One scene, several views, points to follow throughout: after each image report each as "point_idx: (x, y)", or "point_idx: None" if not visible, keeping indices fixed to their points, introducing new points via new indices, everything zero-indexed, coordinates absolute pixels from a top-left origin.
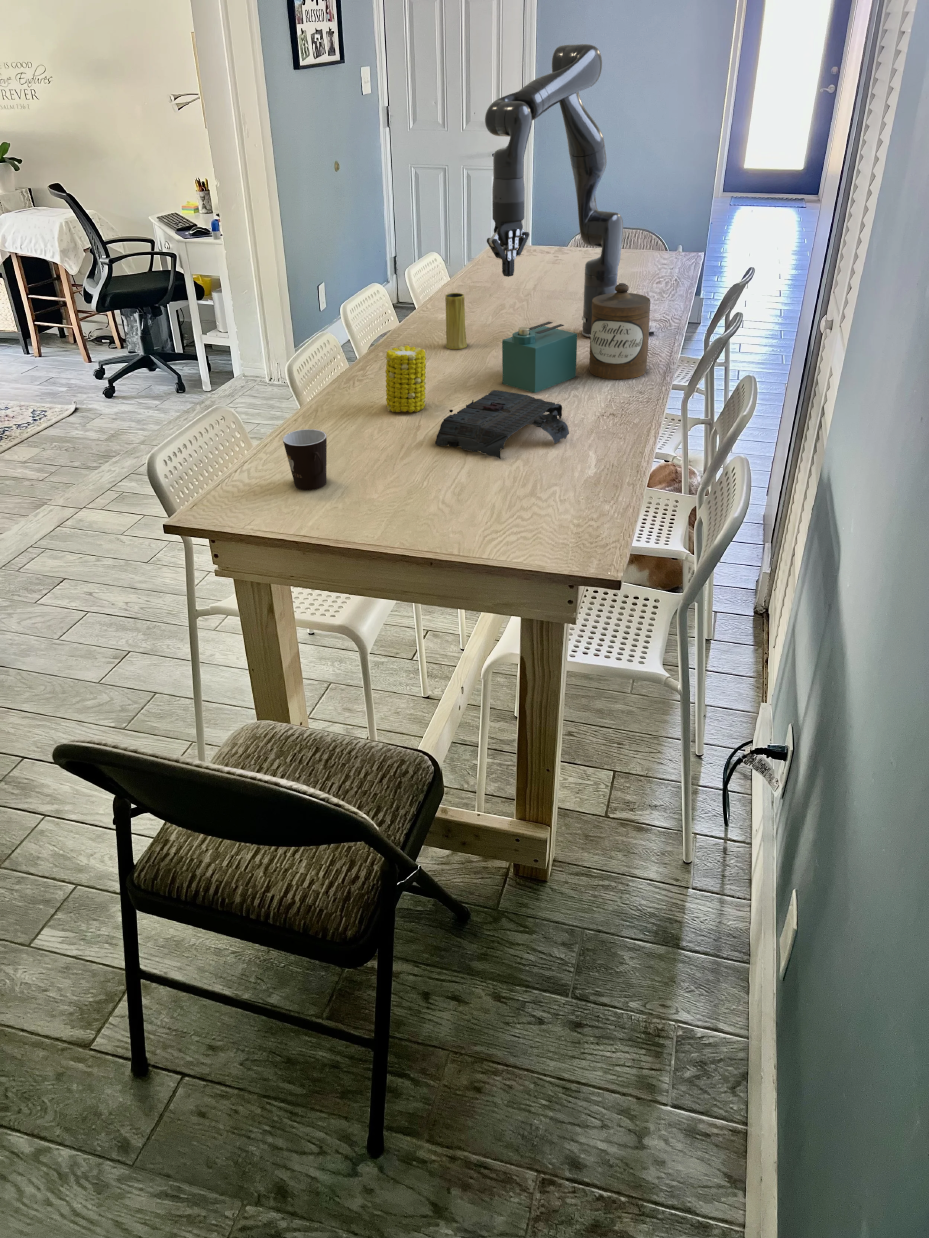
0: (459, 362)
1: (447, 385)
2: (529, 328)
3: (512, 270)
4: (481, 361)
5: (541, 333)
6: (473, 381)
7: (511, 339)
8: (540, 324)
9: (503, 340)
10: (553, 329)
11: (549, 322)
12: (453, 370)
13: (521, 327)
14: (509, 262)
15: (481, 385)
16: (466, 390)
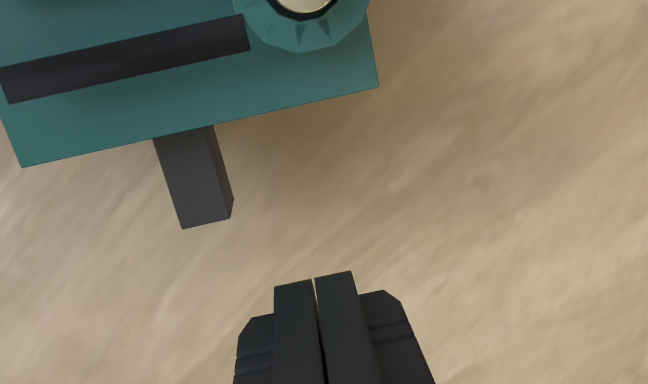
0: None
1: (505, 179)
2: (205, 50)
3: (294, 313)
4: None
5: None
6: (410, 159)
7: (333, 60)
8: (94, 81)
9: (376, 76)
10: None
11: (15, 82)
12: None
13: (303, 4)
14: (380, 380)
15: (415, 103)
16: (490, 90)
